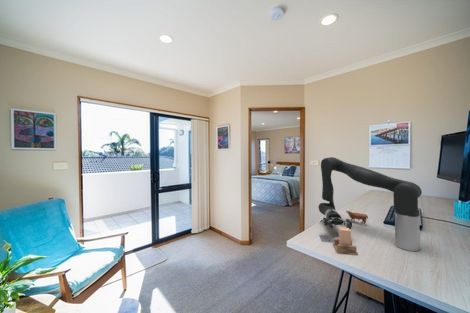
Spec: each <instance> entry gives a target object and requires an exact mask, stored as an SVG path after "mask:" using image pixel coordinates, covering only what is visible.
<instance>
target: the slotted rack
mask: <svg viewBox="0 0 470 313" xmlns="http://www.w3.org/2000/svg"><path fill="white" fill-rule="evenodd" d="M332 245H333V248H334V250H335V253H337V254H340V255H348V256H349V255H350V256H359V253H358V252H357V246H356V245H353V240H352V239H351V245H340V244H339V238H334V243H332Z"/></svg>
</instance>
